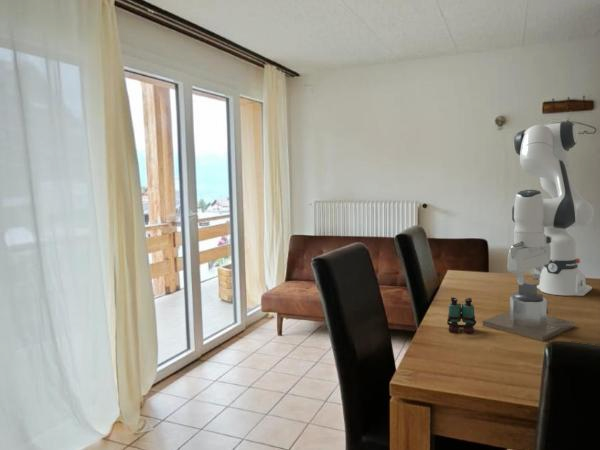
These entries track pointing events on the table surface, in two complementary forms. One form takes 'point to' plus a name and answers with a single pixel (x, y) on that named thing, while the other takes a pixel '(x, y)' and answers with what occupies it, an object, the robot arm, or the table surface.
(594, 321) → the table surface
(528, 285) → the grey dial knob
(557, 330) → the square base plate
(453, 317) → the binoculars
